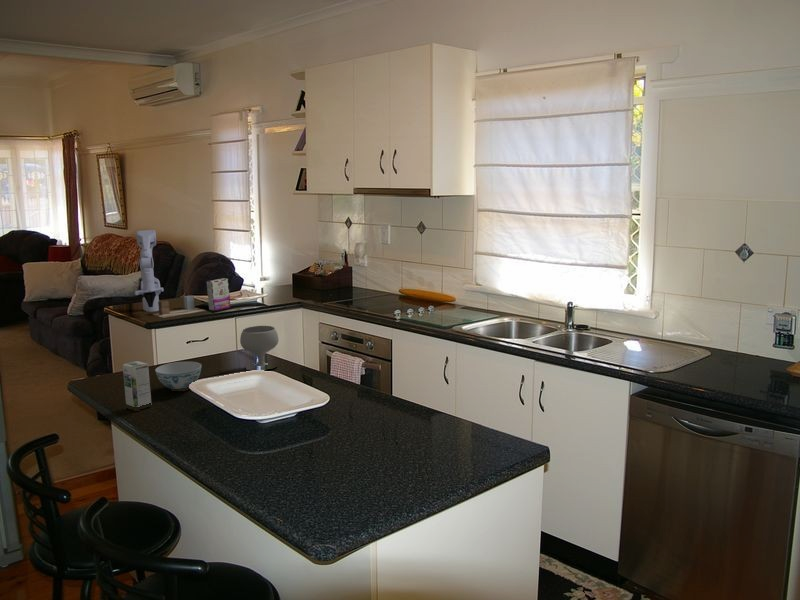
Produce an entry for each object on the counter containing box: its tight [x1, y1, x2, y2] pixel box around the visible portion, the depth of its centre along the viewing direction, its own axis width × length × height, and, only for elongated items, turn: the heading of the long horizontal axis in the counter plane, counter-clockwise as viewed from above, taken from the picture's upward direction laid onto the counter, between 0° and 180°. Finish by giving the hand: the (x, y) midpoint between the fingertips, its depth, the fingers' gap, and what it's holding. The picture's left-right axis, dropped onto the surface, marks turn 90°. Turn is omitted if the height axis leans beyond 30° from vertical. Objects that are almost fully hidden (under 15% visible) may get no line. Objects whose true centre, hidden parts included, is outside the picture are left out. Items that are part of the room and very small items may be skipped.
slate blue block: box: [182, 295, 196, 310], centre depth 379 cm, size 4×4×7 cm
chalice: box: [239, 325, 279, 366], centre depth 261 cm, size 14×14×15 cm
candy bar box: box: [206, 277, 231, 311], centre depth 378 cm, size 11×5×16 cm, turn 143°
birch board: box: [152, 307, 207, 319], centre depth 371 cm, size 14×24×1 cm, turn 133°
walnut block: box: [158, 300, 171, 316], centre depth 366 cm, size 4×4×7 cm
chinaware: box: [154, 361, 202, 389], centre depth 238 cm, size 15×15×8 cm
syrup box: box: [122, 360, 152, 407], centre depth 219 cm, size 6×6×14 cm
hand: (150, 307), depth 361 cm, fingers closed
